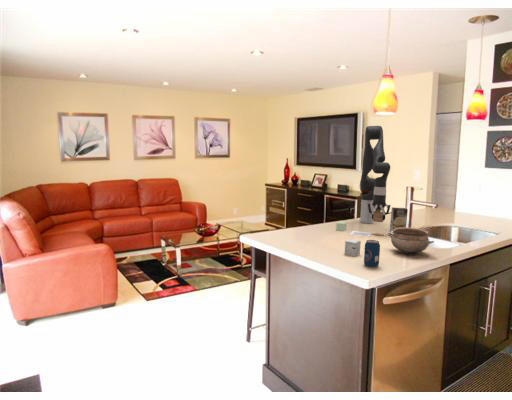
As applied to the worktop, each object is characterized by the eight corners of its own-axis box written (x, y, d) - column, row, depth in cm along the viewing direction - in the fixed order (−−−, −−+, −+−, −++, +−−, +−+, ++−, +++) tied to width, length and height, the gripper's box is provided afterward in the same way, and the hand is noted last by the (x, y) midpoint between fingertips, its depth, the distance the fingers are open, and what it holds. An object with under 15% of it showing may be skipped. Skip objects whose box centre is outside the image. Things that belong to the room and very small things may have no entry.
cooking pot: (378, 251, 214) (380, 229, 212) (395, 245, 227) (396, 224, 225) (424, 261, 196) (426, 237, 194) (439, 254, 209) (441, 232, 207)
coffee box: (391, 232, 260) (393, 208, 258) (389, 230, 267) (391, 207, 265) (406, 233, 260) (407, 209, 257) (403, 231, 266) (405, 207, 264)
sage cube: (337, 229, 268) (338, 221, 268) (346, 230, 266) (346, 222, 265) (336, 230, 263) (336, 222, 263) (344, 231, 261) (344, 223, 260)
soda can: (360, 264, 189) (361, 240, 188) (371, 262, 192) (373, 239, 190) (370, 268, 183) (371, 243, 181) (381, 266, 186) (383, 242, 184)
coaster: (371, 233, 258) (371, 232, 258) (384, 234, 254) (384, 234, 254) (370, 235, 250) (370, 235, 250) (383, 237, 247) (383, 236, 247)
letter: (352, 231, 263) (352, 230, 263) (372, 233, 257) (372, 232, 257) (349, 234, 252) (349, 234, 252) (369, 237, 247) (369, 236, 246)
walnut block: (374, 220, 255) (374, 211, 254) (383, 220, 252) (383, 212, 252) (373, 221, 250) (373, 212, 249) (382, 222, 247) (382, 213, 247)
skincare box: (344, 254, 207) (344, 240, 206) (349, 252, 211) (350, 238, 210) (354, 256, 203) (355, 242, 202) (360, 254, 207) (360, 240, 206)
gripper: (392, 194, 249) (390, 220, 251) (369, 192, 255) (367, 218, 257) (391, 195, 242) (389, 222, 245) (367, 193, 248) (365, 220, 250)
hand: (378, 220), depth 251 cm, fingers closed on walnut block, 5 cm apart
